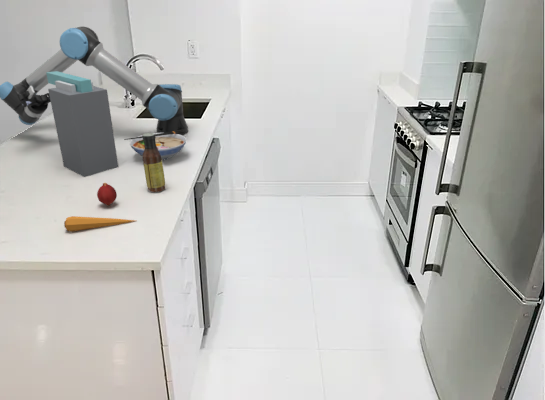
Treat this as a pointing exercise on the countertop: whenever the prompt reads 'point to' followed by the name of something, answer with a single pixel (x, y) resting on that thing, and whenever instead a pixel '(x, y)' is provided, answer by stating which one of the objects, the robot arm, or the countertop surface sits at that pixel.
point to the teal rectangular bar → (70, 81)
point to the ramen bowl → (162, 143)
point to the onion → (106, 194)
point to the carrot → (91, 223)
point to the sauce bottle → (153, 164)
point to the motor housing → (84, 128)
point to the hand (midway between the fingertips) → (50, 86)
